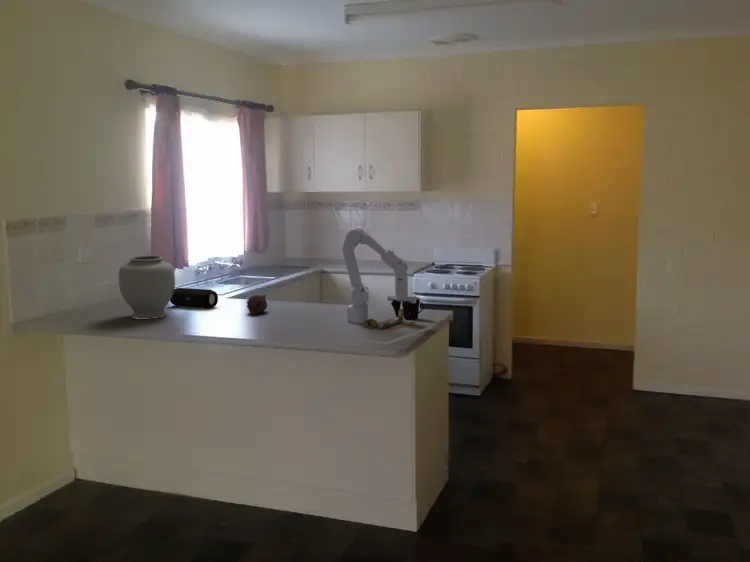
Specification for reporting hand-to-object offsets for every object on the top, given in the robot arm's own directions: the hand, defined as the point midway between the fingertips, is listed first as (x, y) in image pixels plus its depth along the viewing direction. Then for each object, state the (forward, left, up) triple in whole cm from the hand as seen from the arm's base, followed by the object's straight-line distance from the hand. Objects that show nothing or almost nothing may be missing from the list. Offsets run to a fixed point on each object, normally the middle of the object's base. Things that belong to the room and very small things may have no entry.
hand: (401, 317), depth 339 cm
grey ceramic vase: (-122, -45, -4) cm, 130 cm away
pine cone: (-80, -12, -4) cm, 81 cm away
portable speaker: (-122, -16, -4) cm, 123 cm away
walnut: (-6, -14, -2) cm, 15 cm away
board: (-1, -6, -4) cm, 7 cm away
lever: (-1, -8, -2) cm, 8 cm away
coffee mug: (-3, +13, -4) cm, 14 cm away
